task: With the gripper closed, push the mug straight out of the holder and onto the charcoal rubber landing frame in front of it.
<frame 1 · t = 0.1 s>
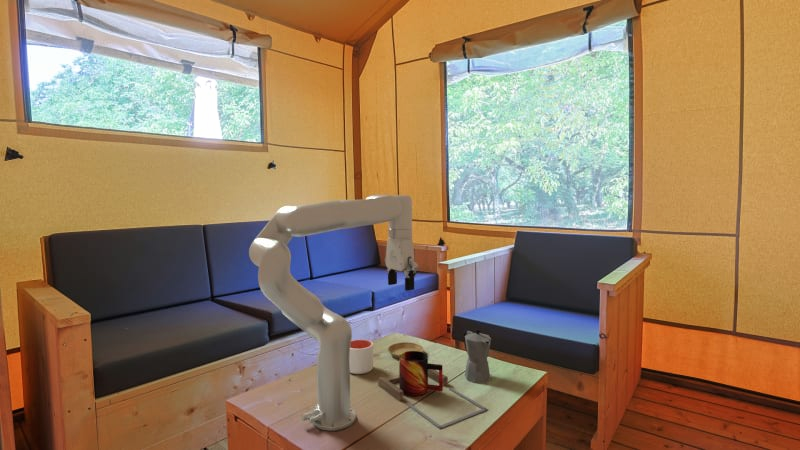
hand: (400, 287, 137), 37 cm above the table, tool pointing down, fingers open, 9 cm apart
holder: (419, 389, 145), on the table
landing frame: (446, 407, 133), on the table
plant saucer: (405, 355, 177), on the table
coffeepot: (475, 377, 155), on the table
cup: (359, 370, 162), on the table
mug: (419, 390, 145), on the table
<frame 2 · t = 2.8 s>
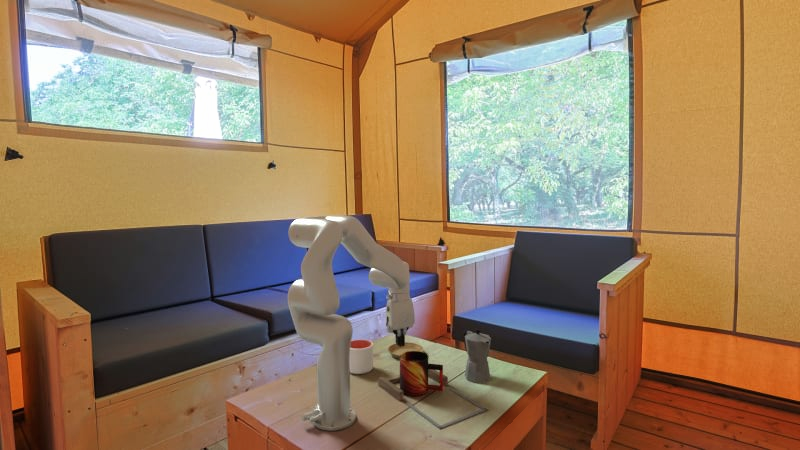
hand: (400, 345, 155), 12 cm above the table, tool pointing down, fingers closed
nothing on the table moved.
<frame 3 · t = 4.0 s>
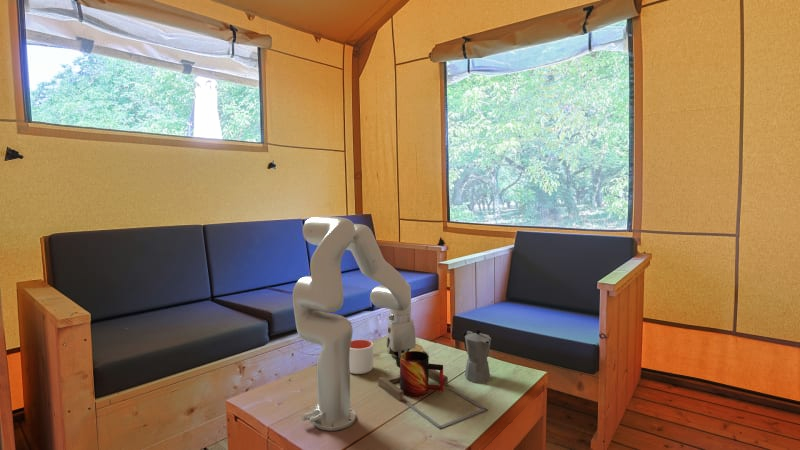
hand: (400, 366, 154), 4 cm above the table, tool pointing down, fingers closed
nothing on the table moved.
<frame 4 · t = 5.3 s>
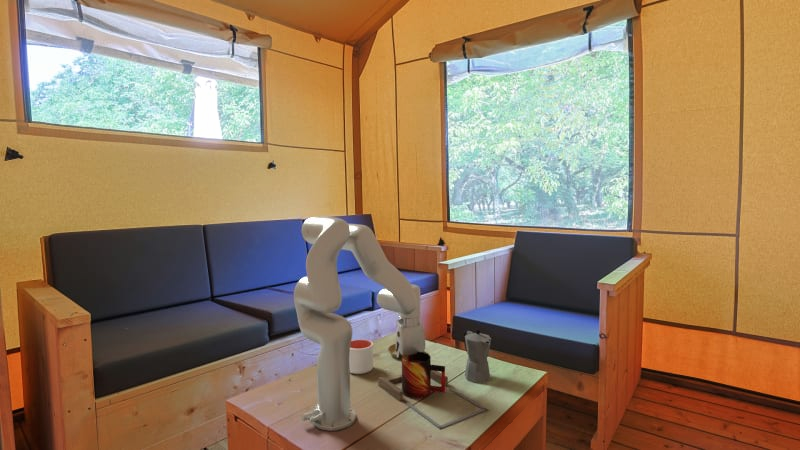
hand: (410, 371, 150), 4 cm above the table, tool pointing down, fingers closed
mug: (422, 391, 144), on the table, touching gripper
everything else where it was.
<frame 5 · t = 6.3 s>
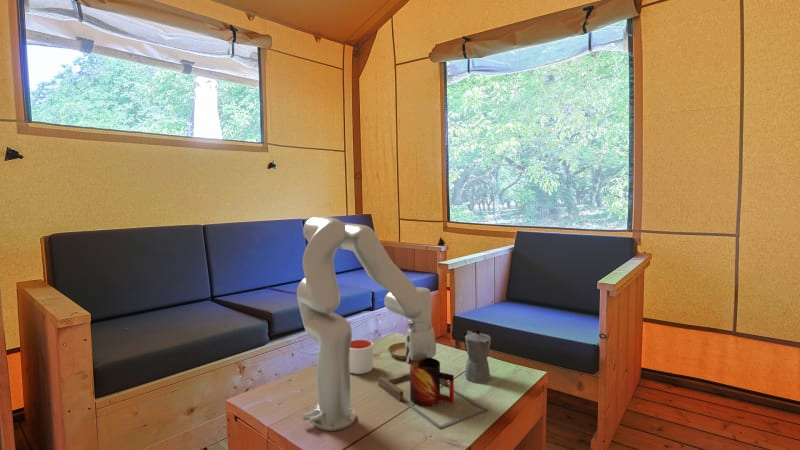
hand: (420, 377, 145), 4 cm above the table, tool pointing down, fingers closed
mug: (431, 399, 139), on the table, touching gripper
everything else where it was.
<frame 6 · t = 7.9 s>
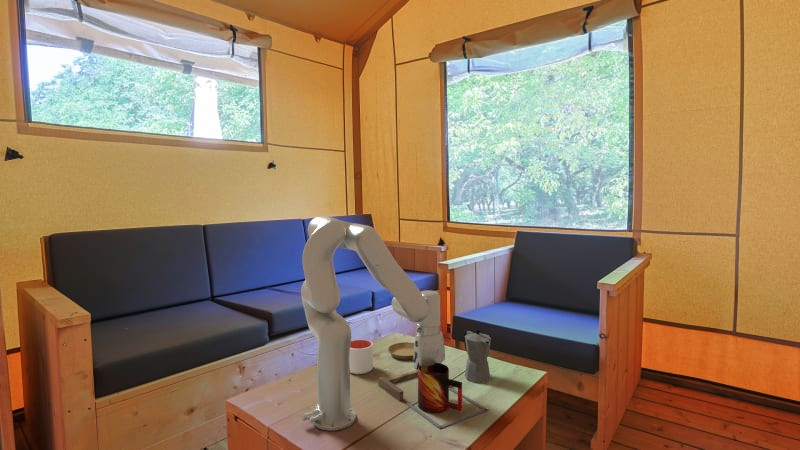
hand: (428, 383, 141), 4 cm above the table, tool pointing down, fingers closed
mug: (440, 406, 134), on the table, touching gripper
everything else where it was.
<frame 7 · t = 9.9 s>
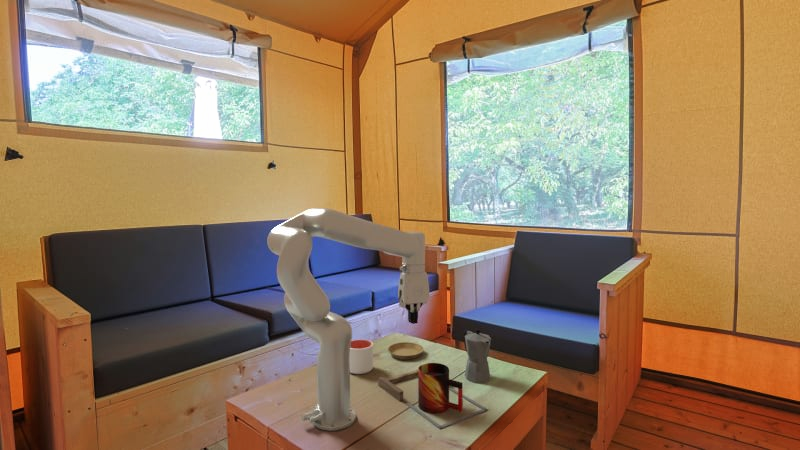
hand: (412, 322, 144), 23 cm above the table, tool pointing down, fingers closed
mug: (440, 407, 134), on the table
everything else where it was.
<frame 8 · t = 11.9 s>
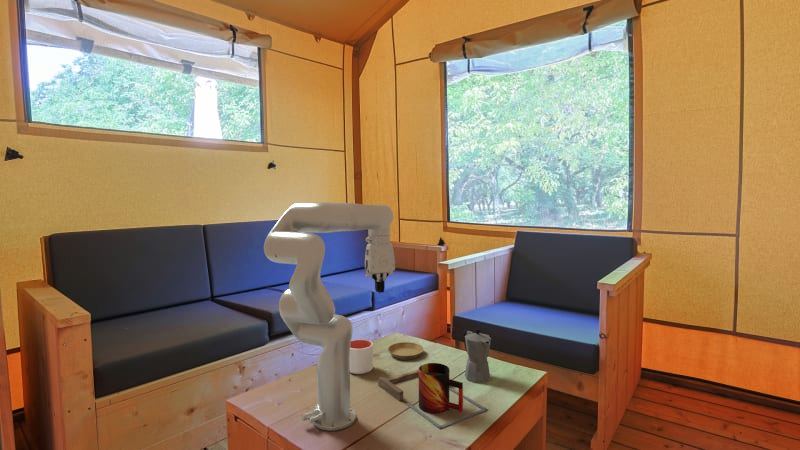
hand: (379, 291, 150), 32 cm above the table, tool pointing down, fingers closed
nothing on the table moved.
at the end: mug inside the target area (1.2 cm from its centre), on the table; mug tilted 0°; mug moved 12.7 cm from its start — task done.
